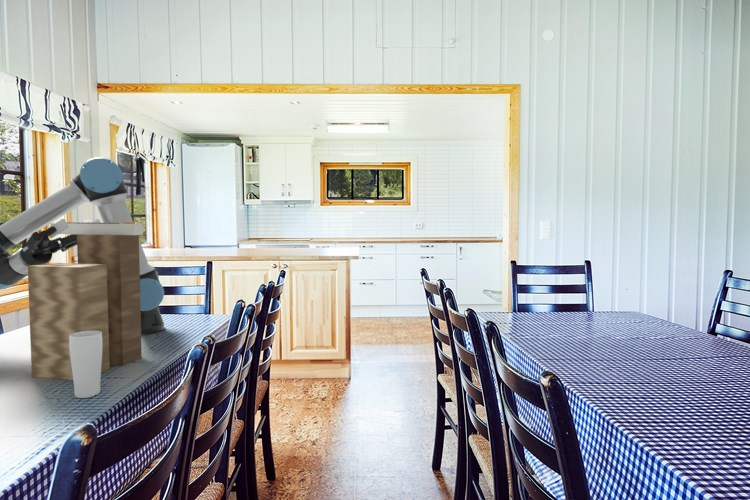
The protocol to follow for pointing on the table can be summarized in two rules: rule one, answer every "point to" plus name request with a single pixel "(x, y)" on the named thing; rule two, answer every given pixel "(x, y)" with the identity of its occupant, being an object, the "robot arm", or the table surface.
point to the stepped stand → (86, 304)
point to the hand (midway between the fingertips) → (83, 222)
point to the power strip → (103, 228)
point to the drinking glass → (86, 362)
